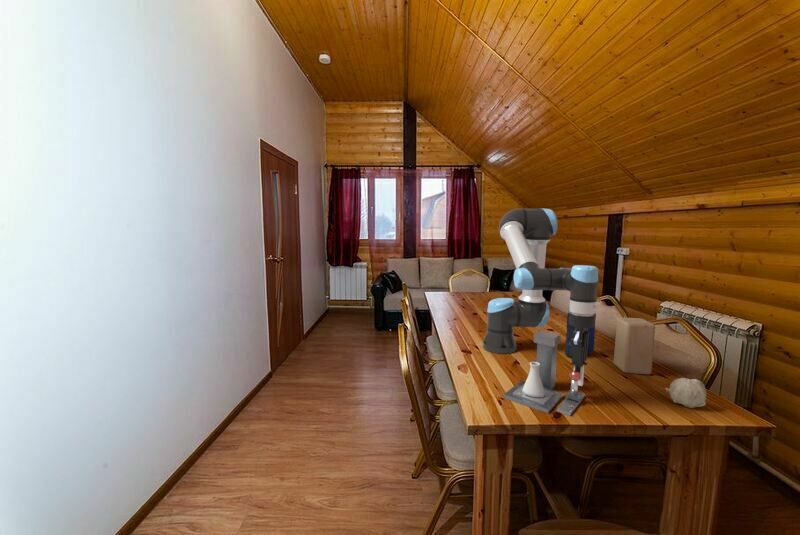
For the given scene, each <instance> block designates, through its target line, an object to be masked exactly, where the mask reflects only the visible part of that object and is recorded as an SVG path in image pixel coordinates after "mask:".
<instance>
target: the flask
mask: <svg viewBox="0 0 800 535" xmlns="http://www.w3.org/2000/svg"><path fill="white" fill-rule="evenodd" d="M529 365H530V369H529V373H528V375H527V377H526V380H525V381H524V382H525V385H524V387H523V389H522V391H523V392H524V394H525V395H529V396H532V397H544V395H545V390H544V388H543V385H542V381H541V378H540V374H539V366H540V364H539V363H538V362H537V361H530V362H529Z"/></svg>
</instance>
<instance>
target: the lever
mask: <svg viewBox="0 0 800 535" xmlns="http://www.w3.org/2000/svg"><path fill="white" fill-rule="evenodd" d="M568 374H569V378H570V379H571V380H570V390H568V392H566V393H565V399H566V398H569V399H572V400H576V401H579V400H580V399H581V397H582V394H581V393H582V392H580V393H578V392H579V391H578V389H579V385H578V380H580V378H581V375H580V373H579V372H578V371H574V370H572V371H570V372H569V373H568Z"/></svg>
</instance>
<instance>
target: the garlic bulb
mask: <svg viewBox="0 0 800 535" xmlns="http://www.w3.org/2000/svg"><path fill="white" fill-rule="evenodd" d="M665 390H666V392H669V396H670V399H672V401H673V403H676V404H680V405H682V406H684V407H685V408H688V409H694V408H700V407H703V406H706V404H707V403H706V399H707V389H706V387H705V384H704V383H703V382H702V381H701V380H698V379H696V378H693V379H692V378H691V379H690V378H686V377H680V378H679V377H678V378H675V379H673V381H672V382H671V383H670V385H669V388H668V387H665Z"/></svg>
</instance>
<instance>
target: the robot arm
mask: <svg viewBox="0 0 800 535" xmlns="http://www.w3.org/2000/svg"><path fill="white" fill-rule="evenodd" d="M498 224H499V225H498V232H499V235H500V238H501V239H502V240H504V241H505V243H506V246H507V248H508V251H509V253H510V256H511V258H512V261H513V263H514V266H515V268H516V269H515V270H514V271H513V272H514V273H513V284H514V287H515V289H517V290H522V291H521V294H520V295H519V296H518V298H517V299H518V300H517V301H515V299H514V298H512V297H511V298H510V297H498V298H493V299H491V300H490V301H489V302H488V305H487V310H486V311H487V318H486V320H487V324H486V325H487V326H486V332H485V335H484V338H483V341H482V348H483V349H484V350H485V351H488V352H491V353H493V354H502V355H503V354H506V355H507V354H512V353H514V352H516V351H517V342H516V340H515V335H514V328H534V329H535V328H542V327H544V326H546V325H547V323H548V321H549V320H550V319H549V318H550V305H549V304H548V303H547V302H546V298H545V297H544V296H543V291H566V292H569V306H568V311H569V312H571V313H570V314H569V324H570V325H571V326H574V327H575V331H573V338H571V343H572V357H571V362H570V365H572V366H573V371H578V372H579V373H580V375H581V378H580V380H578V387H583V385H584V375H585V374H584V373H585V366H587V365H588V363H587V362H586V361H587V358H588V357H587V356H588V355H587V349H588V340H589V335H590V332H589V331H588V328H593V327H594V326H595V327H596V320H595V315H594V314H595V313H596V314H597V312H596V311H597V309H598V308H599V305H597V296H598V285H599V268H598V267H597V266H594V265H586V264H585V265H584V264H581V265H580V264H578V265H577V264H576V265H573V266H572V267H560V268H545V266H546V265H545V264H546V257H547V256H546V254H547V244H548V243H549V242H550V241H551V238H552V237H553V236H555V235H556V234H557V231H558V219H557V215H556V213H555V211H553V210H552V209H550V208H543V207H542V208H513V209H511V210H509V211H508V212H506V213H505V214H504V215H503V216H502V217H501V219H500V221H499V223H498Z"/></svg>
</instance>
